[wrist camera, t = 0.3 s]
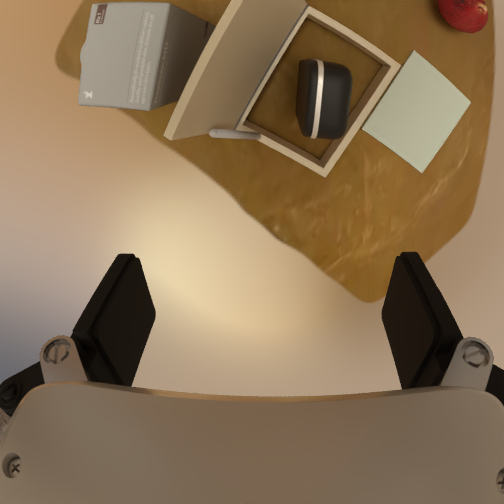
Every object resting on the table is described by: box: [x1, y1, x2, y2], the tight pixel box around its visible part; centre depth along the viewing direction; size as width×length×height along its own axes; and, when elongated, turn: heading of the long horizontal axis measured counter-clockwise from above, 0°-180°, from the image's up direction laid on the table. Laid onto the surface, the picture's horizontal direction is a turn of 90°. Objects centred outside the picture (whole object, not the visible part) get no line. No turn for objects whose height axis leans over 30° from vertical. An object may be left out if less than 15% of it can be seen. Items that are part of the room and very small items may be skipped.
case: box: [163, 0, 401, 178], centre depth 26 cm, size 16×16×14 cm
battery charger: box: [296, 59, 352, 140], centre depth 27 cm, size 7×4×11 cm, turn 177°
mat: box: [361, 50, 471, 173], centre depth 32 cm, size 12×10×1 cm
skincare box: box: [78, 2, 216, 111], centre depth 24 cm, size 8×7×16 cm
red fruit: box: [438, 0, 488, 33], centre depth 20 cm, size 6×6×8 cm
